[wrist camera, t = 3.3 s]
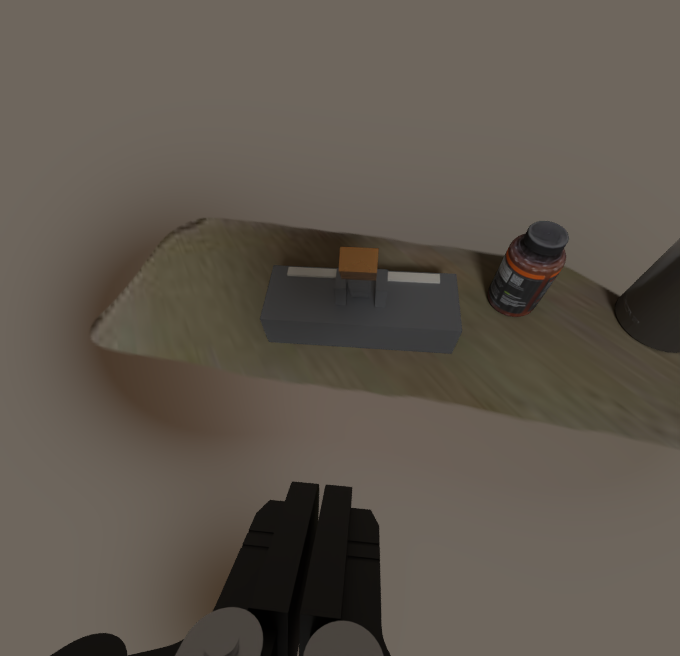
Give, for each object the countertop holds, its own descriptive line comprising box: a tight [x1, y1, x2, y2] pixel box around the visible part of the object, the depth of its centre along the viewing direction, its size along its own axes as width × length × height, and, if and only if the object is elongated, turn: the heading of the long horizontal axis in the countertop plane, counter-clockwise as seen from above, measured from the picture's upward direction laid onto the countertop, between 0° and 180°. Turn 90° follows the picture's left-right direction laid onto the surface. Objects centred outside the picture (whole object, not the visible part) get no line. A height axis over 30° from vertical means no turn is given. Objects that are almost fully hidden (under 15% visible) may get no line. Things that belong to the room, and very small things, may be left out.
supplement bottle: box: [488, 221, 569, 317], centre depth 42 cm, size 6×6×11 cm
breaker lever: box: [339, 247, 378, 298], centre depth 34 cm, size 3×2×15 cm, turn 85°
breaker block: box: [260, 265, 462, 354], centre depth 42 cm, size 22×8×8 cm, turn 85°
